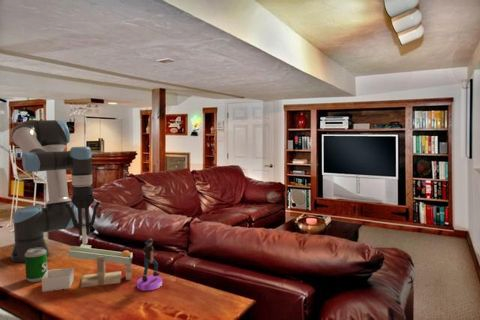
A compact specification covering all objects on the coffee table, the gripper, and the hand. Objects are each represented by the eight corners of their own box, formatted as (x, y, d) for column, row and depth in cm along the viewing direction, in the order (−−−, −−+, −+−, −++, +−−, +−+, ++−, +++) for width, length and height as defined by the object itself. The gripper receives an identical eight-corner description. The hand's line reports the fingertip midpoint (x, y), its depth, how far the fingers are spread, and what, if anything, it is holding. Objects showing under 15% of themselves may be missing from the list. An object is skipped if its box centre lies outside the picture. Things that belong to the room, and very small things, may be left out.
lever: (74, 245, 146) (75, 238, 146) (131, 252, 153) (133, 246, 153) (67, 257, 132) (69, 249, 132) (130, 264, 139) (132, 257, 139)
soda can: (38, 284, 137) (36, 253, 136) (21, 282, 138) (19, 252, 137) (52, 276, 144) (50, 247, 143) (36, 274, 146) (34, 246, 145)
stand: (84, 278, 141) (83, 251, 140) (131, 273, 146) (130, 247, 145) (80, 287, 133) (79, 259, 132) (131, 281, 138) (130, 254, 137)
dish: (47, 282, 138) (47, 270, 137) (73, 279, 140) (73, 267, 140) (42, 291, 130) (41, 278, 130) (69, 288, 132) (69, 275, 132)
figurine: (167, 282, 138) (166, 236, 136) (151, 292, 129) (150, 243, 128) (148, 278, 142) (146, 233, 140) (131, 287, 133) (130, 240, 132)
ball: (120, 257, 142) (122, 248, 142) (129, 258, 143) (131, 249, 143) (120, 260, 139) (122, 251, 139) (129, 261, 140) (131, 252, 140)
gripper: (62, 187, 137) (65, 247, 139) (98, 185, 140) (101, 244, 142) (66, 184, 144) (69, 241, 146) (100, 183, 147) (103, 238, 149)
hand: (85, 242), depth 144 cm, fingers closed
